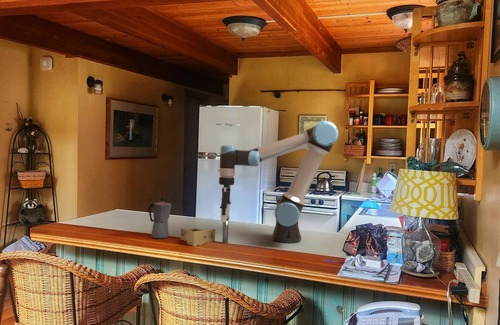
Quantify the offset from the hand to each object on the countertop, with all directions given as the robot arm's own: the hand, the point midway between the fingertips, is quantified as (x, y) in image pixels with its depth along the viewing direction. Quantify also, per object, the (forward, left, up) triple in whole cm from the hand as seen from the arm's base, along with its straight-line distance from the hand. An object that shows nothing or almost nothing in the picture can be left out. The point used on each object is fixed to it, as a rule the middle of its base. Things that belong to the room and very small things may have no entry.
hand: (225, 219), depth 200 cm
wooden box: (+10, +9, -12) cm, 18 cm away
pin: (0, 0, -12) cm, 12 cm away
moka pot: (+29, +20, -12) cm, 37 cm away
